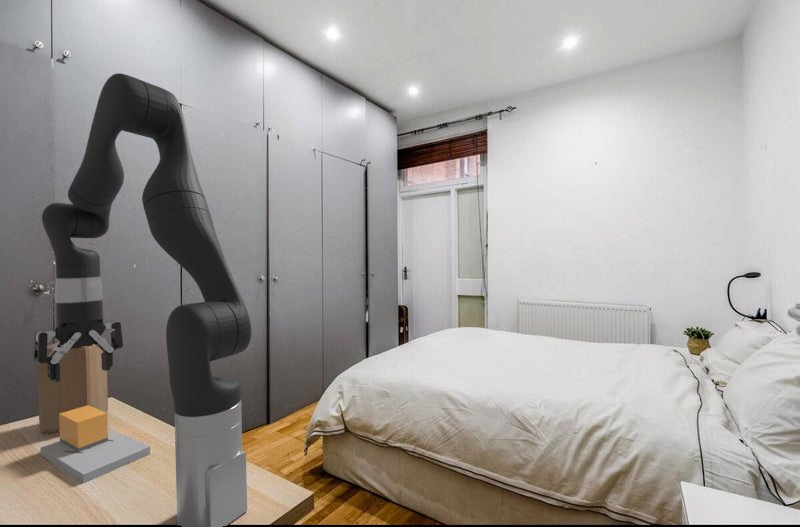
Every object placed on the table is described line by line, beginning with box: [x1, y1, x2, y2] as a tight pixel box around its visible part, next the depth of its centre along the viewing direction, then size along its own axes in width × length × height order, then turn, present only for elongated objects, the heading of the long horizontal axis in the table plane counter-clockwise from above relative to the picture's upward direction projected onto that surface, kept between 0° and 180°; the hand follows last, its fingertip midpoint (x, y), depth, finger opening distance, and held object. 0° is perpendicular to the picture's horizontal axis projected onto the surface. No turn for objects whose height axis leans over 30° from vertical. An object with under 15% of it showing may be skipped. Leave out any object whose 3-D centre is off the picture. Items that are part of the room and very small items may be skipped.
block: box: [36, 338, 109, 434], centre depth 90 cm, size 10×10×20 cm
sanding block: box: [59, 405, 109, 452], centre depth 78 cm, size 9×5×6 cm, turn 60°
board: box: [39, 427, 151, 484], centre depth 75 cm, size 20×11×2 cm, turn 61°
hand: (82, 375), depth 78 cm, fingers open, 8 cm apart
